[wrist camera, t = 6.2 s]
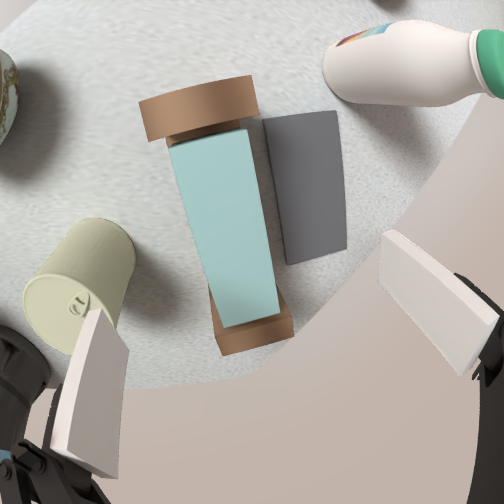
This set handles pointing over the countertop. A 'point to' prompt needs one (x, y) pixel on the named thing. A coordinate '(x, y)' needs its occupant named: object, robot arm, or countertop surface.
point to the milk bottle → (415, 65)
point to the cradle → (201, 123)
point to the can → (79, 282)
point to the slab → (227, 222)
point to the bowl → (8, 93)
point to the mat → (308, 183)
